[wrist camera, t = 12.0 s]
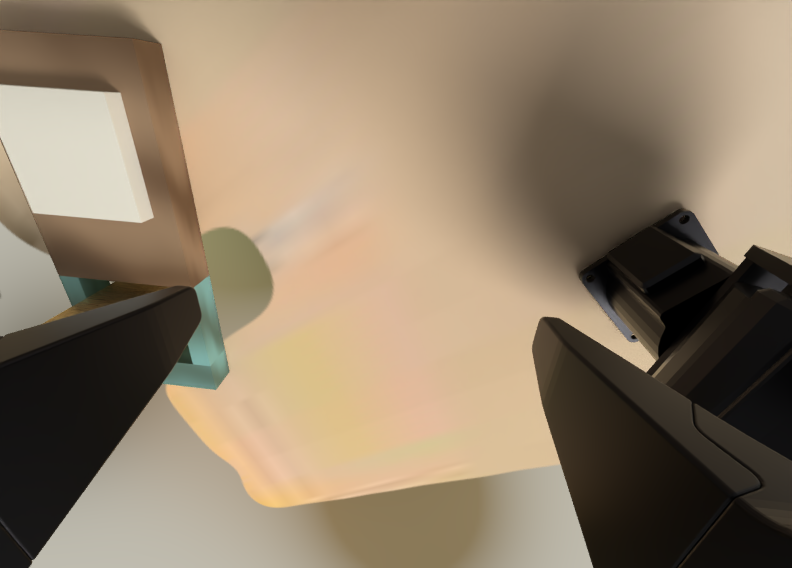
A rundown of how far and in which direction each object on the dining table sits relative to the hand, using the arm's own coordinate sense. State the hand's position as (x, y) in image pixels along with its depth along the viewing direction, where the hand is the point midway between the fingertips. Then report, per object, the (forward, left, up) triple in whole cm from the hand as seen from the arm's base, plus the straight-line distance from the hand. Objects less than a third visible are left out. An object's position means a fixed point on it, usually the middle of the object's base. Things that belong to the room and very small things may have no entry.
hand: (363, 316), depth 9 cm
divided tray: (+10, +15, -13) cm, 22 cm away
